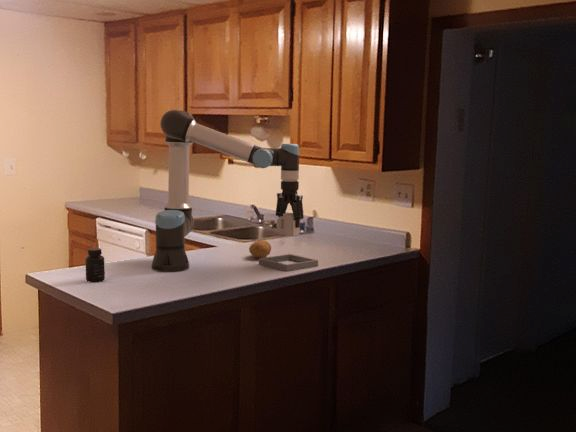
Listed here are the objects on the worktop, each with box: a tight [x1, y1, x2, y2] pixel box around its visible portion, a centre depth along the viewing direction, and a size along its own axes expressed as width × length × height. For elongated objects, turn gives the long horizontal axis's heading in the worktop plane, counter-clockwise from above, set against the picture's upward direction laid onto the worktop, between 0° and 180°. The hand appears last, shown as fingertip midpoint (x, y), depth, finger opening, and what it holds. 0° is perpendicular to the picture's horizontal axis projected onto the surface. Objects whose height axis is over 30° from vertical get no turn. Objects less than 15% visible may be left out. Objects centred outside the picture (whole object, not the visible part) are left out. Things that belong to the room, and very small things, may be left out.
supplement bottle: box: [85, 247, 106, 283], centre depth 244 cm, size 7×7×12 cm
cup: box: [275, 212, 301, 237], centre depth 278 cm, size 7×10×9 cm
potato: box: [248, 239, 272, 259], centre depth 295 cm, size 10×14×8 cm
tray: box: [258, 253, 319, 272], centre depth 280 cm, size 18×18×2 cm
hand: (289, 233), depth 278 cm, fingers closed on cup, 8 cm apart
